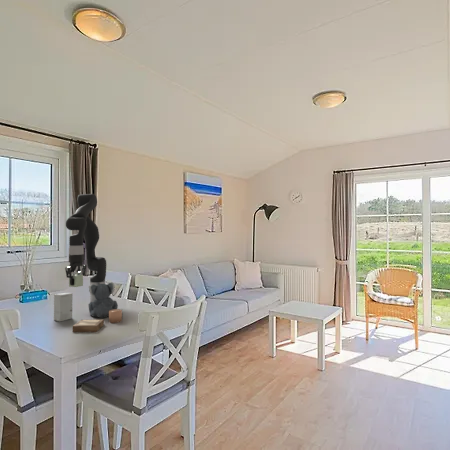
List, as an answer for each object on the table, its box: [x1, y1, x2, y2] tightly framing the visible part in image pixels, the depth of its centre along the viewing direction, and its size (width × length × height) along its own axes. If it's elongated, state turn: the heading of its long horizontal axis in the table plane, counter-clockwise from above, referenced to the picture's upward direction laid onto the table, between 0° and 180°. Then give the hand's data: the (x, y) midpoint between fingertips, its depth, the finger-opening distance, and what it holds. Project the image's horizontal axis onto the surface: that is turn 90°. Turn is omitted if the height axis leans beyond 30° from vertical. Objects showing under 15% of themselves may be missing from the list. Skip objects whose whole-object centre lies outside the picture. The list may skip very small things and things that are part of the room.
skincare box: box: [53, 292, 73, 322], centre depth 197 cm, size 8×6×15 cm
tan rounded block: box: [108, 308, 123, 324], centre depth 193 cm, size 7×7×6 cm
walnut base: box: [72, 318, 105, 333], centre depth 179 cm, size 12×12×3 cm
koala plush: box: [88, 281, 119, 319], centre depth 208 cm, size 17×18×20 cm
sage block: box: [68, 274, 84, 288], centre depth 188 cm, size 5×5×6 cm
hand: (75, 284), depth 188 cm, fingers closed on sage block, 5 cm apart
